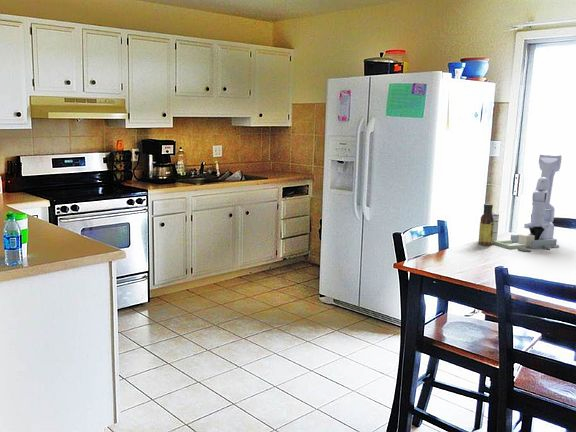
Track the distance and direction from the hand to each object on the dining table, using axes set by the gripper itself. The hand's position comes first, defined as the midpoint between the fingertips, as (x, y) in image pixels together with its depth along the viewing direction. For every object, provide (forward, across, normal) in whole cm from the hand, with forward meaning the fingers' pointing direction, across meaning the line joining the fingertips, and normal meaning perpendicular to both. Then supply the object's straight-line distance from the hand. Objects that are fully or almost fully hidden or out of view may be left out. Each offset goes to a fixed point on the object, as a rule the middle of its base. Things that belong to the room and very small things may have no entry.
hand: (535, 241), depth 271 cm
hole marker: (+1, -17, -10) cm, 20 cm away
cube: (+1, -6, 0) cm, 6 cm away
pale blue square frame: (+1, -1, 0) cm, 2 cm away
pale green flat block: (+1, -16, 0) cm, 16 cm away
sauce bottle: (+1, -27, +5) cm, 27 cm away
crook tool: (+1, +1, -10) cm, 10 cm away
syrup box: (+1, -19, +11) cm, 22 cm away
